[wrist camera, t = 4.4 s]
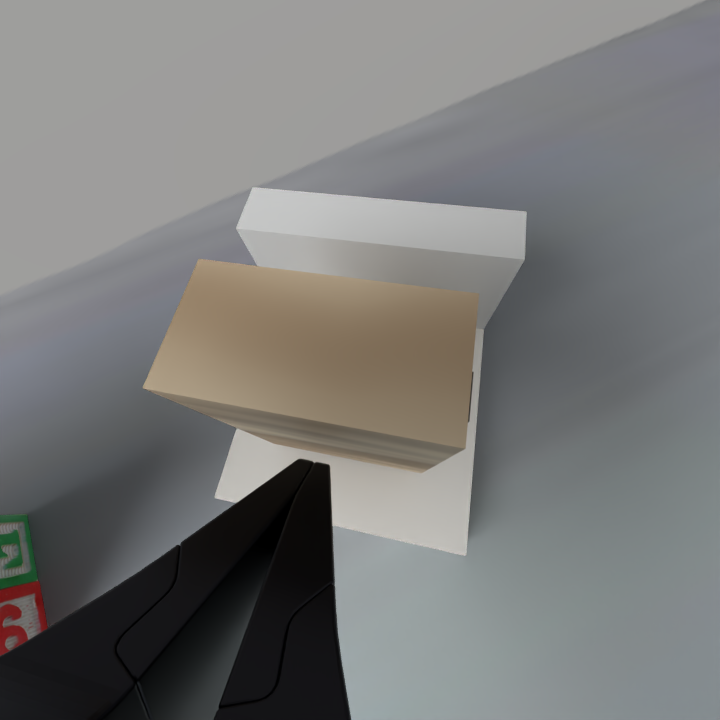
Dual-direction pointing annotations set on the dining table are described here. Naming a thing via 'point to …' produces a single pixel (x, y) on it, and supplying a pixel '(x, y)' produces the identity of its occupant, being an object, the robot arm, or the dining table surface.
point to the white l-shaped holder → (395, 265)
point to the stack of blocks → (18, 585)
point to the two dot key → (324, 362)
